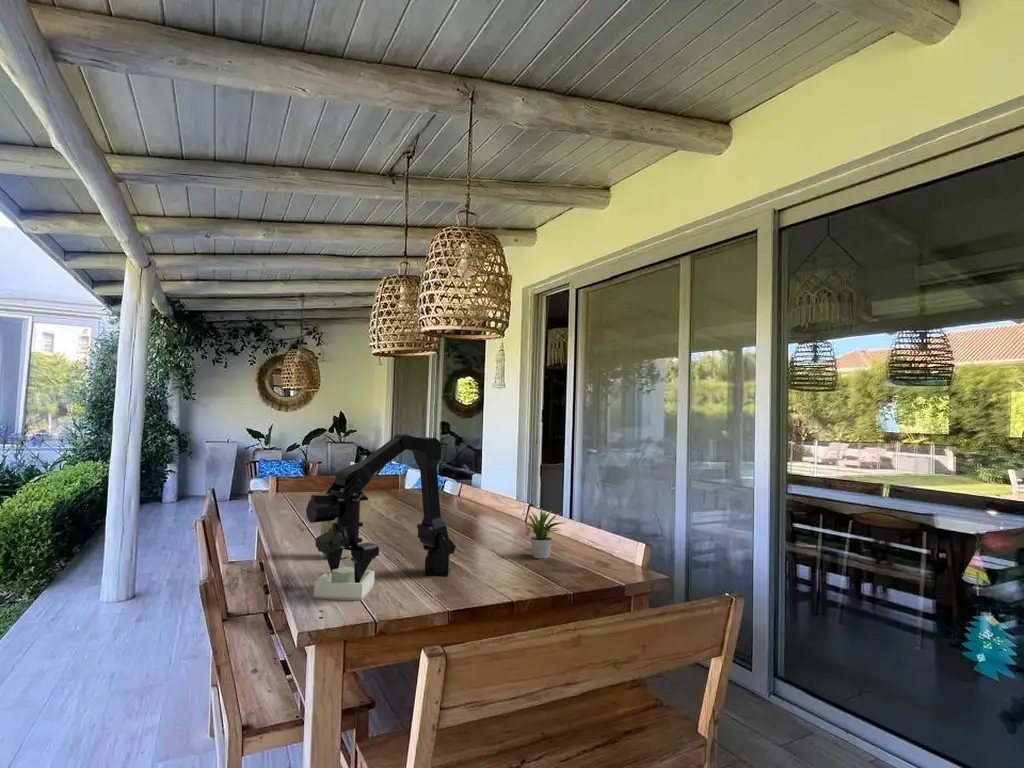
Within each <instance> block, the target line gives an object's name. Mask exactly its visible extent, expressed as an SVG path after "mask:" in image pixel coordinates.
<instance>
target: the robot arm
mask: <svg viewBox="0 0 1024 768" xmlns="http://www.w3.org/2000/svg"><path fill="white" fill-rule="evenodd" d="M442 448H443V447H442V443H441V440H439V439H438V438H436V437H429V436H418V437H415V436H412V435H409V434H404V433H397V434H396V435H395V434H394V436H393V438H392V439H390V440H388V441H387V442H386V443H384V444H383V445H382V446H381V447H379V448H378V449H377V450H375V451H374V452H372V453H371V454H370V455H369V456H366V458H364V459H363V460H361V461H359V462H357V463H354V464H351V465H348V466H346V467H344V468H342V469H340V470H339V471H337V472H336V475H335V478H334V479H335V480H334V481H333V482H332V484H331V485H330V487H329V488H328V489H327V491H326V492H325V493H324V494H311V496H310V499H309V501H308V503H307V505H306V509H305V513H306V519H307V520H308V522H309V523H310V524H313V523H315V524H316V523H321V522H324V521H333V520H335V518H337V522H335V523H333V524H332V529H331V530H330V531H328V532H326V533H324V534H322V535H321V534H320V535H318V537H316V538H315V540H314V541H315V548H317V552H321V553H322V555H323V554H324V555H326V557H325V558H326V560H327V563H328V567H329V569H330V571H331V574H332V570H334V569H338V568H340V564H341V563H340V562H341V559H342V558H341V555H342V551H343V549H345V550H349V551H351V554H350V555H351V556H352V557H350V558H349V559H350V560H351V562H353V565H354V566H353V568H354V578H355V583H359V582H360V580H361V579H362V577H363V575H364V573H365V571H367V569H368V567H369V566H370V564H371V562H372V561H373V559H376V557H379V556H380V547H379V546H378V544H376V543H372V542H363V538H362V537H360V528H361V527H363V526H364V523H363V522H362V521H360V519H361V518H360V516H361V502H362V501H369V496H366V494H364V491H363V490H364V489H365V488H366V486H367V485H368V484H369V483H370V482H371V479H372V478H373V476H374V475H375V474H376V473H377V472H378V471H380V470H381V469H382V468H384V467H385V466H386V465H387V464H389V463H391V461H393V460H394V459H395V458H397V457H398V456H399V455H401V454H402V453H403V452H405V451H411V452H412V454H413V459H414V461H415V462H416V465H417V466H418V468H419V473H420V485H421V496H422V497H421V499H422V509H423V519H422V521H421V523H417V525H416V528H417V539H419V541H420V543H421V544H422V546H423V547H422V548H423V550H426V551H427V554H426V556H425V559H424V561H425V562H424V571H425V574H424V575H425V576H443V577H444V576H445V577H447V576H449V574H450V573H451V568H450V566H451V564H450V563H451V554H455V551H456V547H457V545H456V544H455V543H454V542H453V541H452V539H450V537H449V532H448V527H447V524H446V523H445V521H444V519H443V517H442V515H441V501H440V499H441V498H440V487H439V477H438V474H439V473H438V466H439V463H440V461H441V460H442ZM362 542H363V543H362ZM349 546H351V547H349Z"/></svg>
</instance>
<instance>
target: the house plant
mask: <svg viewBox="0 0 1024 768" xmlns="http://www.w3.org/2000/svg"><path fill="white" fill-rule="evenodd" d="M552 512H553V510H550V511H549V512H548V513H547V510H544V511H543V507H541V509H540V513H539V514H540V515H539V519H538V516H537V514H536V513H535V512H531V514H532V516H533V517H532V516H531V514H530V513H528V514H526V513H525V514H523V513H522V515H524V516H526V517H527V518H528V519H529V520H530V522H531V523H527V524H526V526H529V527H528V528H527V529H526V531H527V533H530V532H531V533H534V535H535V536H534V535H533V536H531V537H530V541H531V542H530V543H531V550H532V552H531V553H532V558H533V557H536V558H548V557H550V552H551V548H552V543H553V538H552V537H550V536H548V535H550V534H551V533H552V532H559V533H561V532H562V531H561V528H560V527H555V526H557V525H561V524H565V522H553V521H555V520H559V519H558V517H557V516H558V515H560V514H561V513H557V514H555V515H553V517H552V518H550V520H548V522H547V523H546V521H547V519H548V518H549V515H551V513H552ZM548 559H549V558H548Z"/></svg>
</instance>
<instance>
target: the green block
mask: <svg viewBox="0 0 1024 768" xmlns="http://www.w3.org/2000/svg"><path fill="white" fill-rule="evenodd" d="M331 582H346V583H355V578H354V567H351V566H349V565H347V566H343V567H339V568H338V569H334V570H332V575H331Z"/></svg>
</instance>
